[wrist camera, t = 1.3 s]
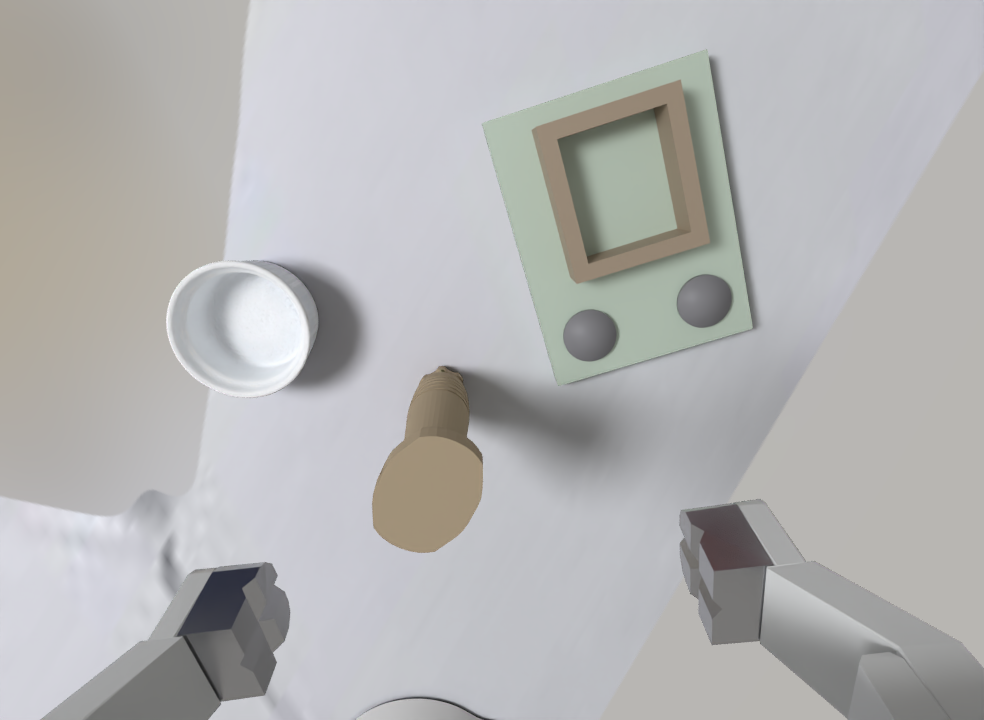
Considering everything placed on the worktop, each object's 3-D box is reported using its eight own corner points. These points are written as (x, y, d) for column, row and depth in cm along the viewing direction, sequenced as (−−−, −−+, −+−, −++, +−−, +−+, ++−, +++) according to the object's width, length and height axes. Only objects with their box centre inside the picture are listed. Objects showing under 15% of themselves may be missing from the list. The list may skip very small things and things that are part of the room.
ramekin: (177, 337, 40) (143, 356, 35) (228, 226, 37) (198, 233, 33) (293, 397, 41) (273, 421, 37) (349, 294, 39) (334, 308, 35)
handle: (492, 362, 41) (502, 462, 26) (453, 434, 42) (444, 565, 28) (431, 333, 40) (408, 420, 26) (394, 408, 42) (354, 529, 27)
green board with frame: (743, 323, 40) (771, 338, 37) (555, 378, 41) (563, 399, 38) (697, 54, 35) (725, 39, 31) (482, 125, 36) (483, 119, 32)
